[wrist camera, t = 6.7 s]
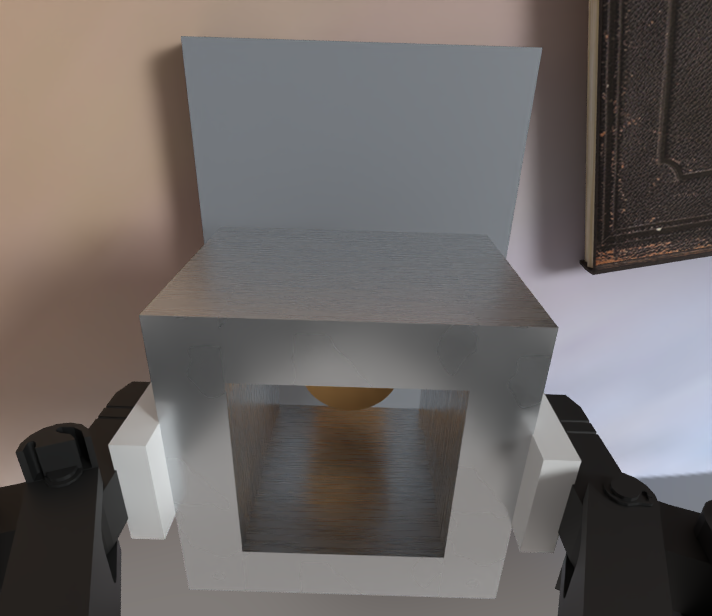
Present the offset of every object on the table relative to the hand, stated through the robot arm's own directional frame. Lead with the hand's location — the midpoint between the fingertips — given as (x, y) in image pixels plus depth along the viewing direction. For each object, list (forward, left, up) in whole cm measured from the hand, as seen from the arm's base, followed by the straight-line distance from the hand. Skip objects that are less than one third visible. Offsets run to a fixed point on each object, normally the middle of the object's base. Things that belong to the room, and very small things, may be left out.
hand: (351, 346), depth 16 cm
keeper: (0, 0, -6) cm, 6 cm away
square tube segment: (0, 0, 0) cm, 0 cm away
